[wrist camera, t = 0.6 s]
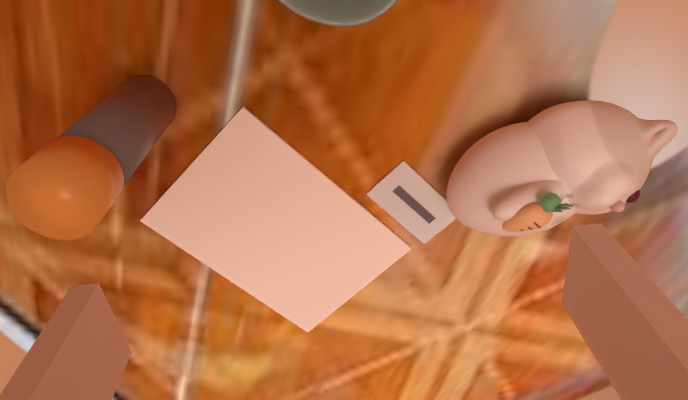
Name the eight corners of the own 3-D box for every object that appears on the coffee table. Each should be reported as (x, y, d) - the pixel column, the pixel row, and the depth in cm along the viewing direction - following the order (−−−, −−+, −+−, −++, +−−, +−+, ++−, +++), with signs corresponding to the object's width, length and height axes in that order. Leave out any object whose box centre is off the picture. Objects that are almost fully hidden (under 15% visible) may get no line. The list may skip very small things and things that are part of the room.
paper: (141, 218, 40) (139, 220, 39) (243, 105, 35) (242, 107, 35) (307, 330, 46) (307, 332, 46) (411, 246, 42) (411, 248, 42)
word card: (365, 193, 39) (366, 195, 39) (403, 159, 38) (403, 161, 38) (423, 242, 42) (424, 244, 42) (460, 213, 41) (461, 215, 40)
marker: (104, 104, 35) (-12, 204, 23) (138, 60, 34) (33, 143, 21) (155, 142, 36) (72, 254, 24) (189, 102, 35) (119, 200, 23)
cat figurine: (464, 273, 32) (726, 186, 27) (417, 157, 32) (667, 52, 28) (472, 248, 41) (669, 180, 36) (436, 158, 41) (626, 79, 37)
